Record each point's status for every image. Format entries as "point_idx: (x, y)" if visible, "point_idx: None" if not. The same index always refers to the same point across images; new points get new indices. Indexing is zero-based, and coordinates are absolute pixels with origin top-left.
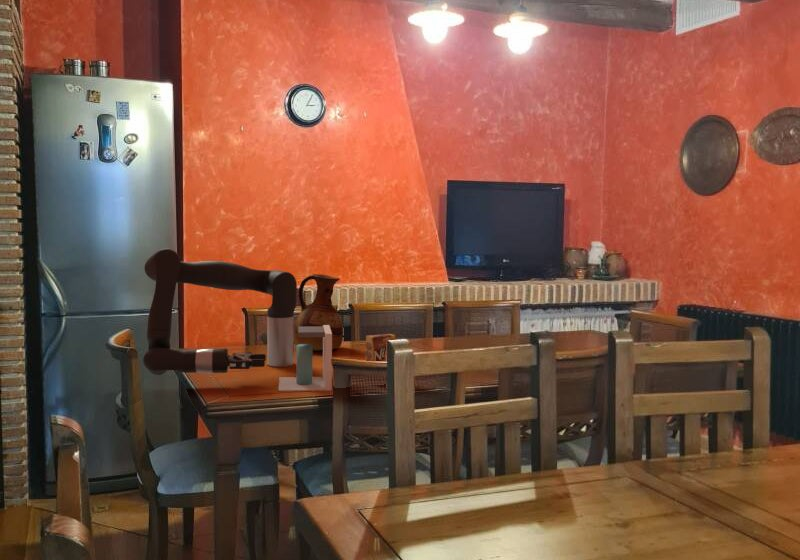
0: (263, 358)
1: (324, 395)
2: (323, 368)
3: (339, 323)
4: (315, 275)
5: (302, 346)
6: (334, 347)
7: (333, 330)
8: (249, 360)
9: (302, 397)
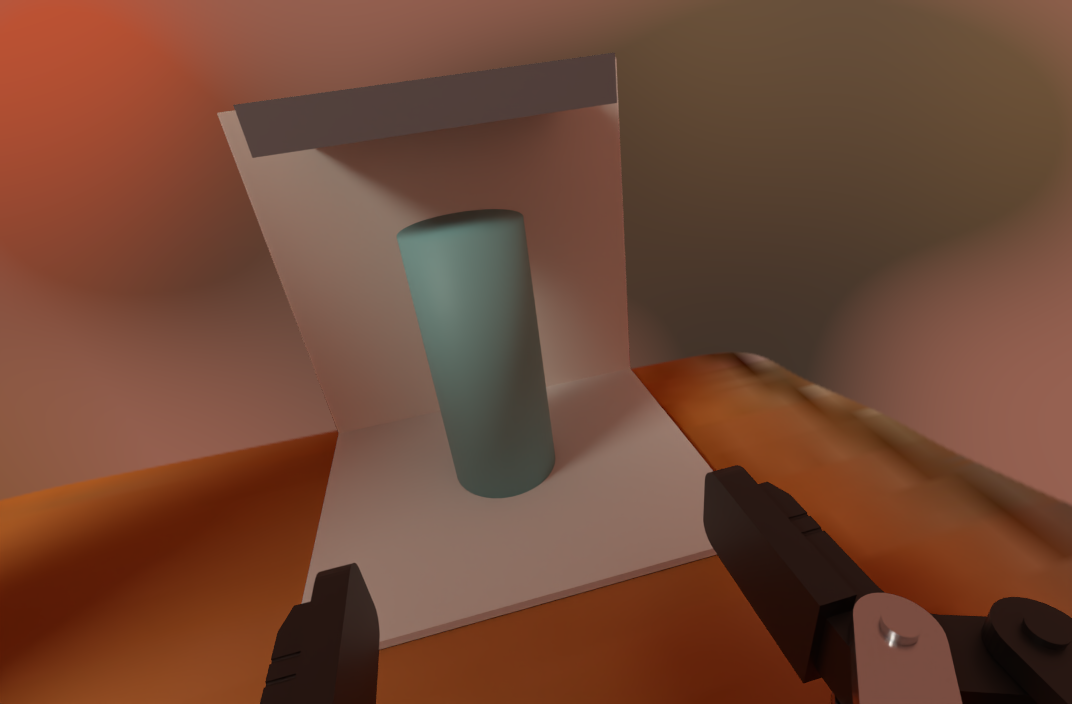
0: (366, 622)
1: (719, 357)
2: (425, 352)
3: None
4: None
5: (507, 220)
6: None
7: None
8: (938, 629)
9: (817, 403)
